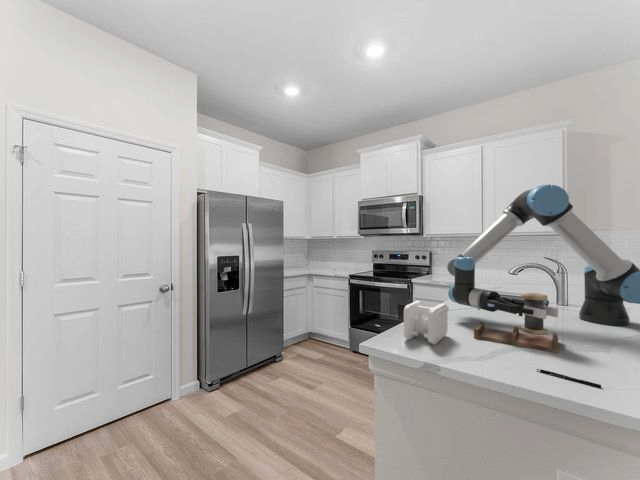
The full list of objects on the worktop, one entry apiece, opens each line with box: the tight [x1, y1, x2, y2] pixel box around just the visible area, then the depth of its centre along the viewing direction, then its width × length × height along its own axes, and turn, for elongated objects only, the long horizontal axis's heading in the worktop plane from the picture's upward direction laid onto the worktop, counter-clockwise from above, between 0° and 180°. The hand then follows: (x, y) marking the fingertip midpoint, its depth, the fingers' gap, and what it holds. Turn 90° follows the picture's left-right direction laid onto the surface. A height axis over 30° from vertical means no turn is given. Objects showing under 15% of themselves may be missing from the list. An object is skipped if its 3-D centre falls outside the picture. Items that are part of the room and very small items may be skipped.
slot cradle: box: [473, 321, 559, 354], centre depth 102 cm, size 23×12×3 cm, turn 52°
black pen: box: [536, 368, 602, 390], centre depth 74 cm, size 12×1×1 cm, turn 42°
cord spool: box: [520, 292, 548, 336], centre depth 99 cm, size 7×7×12 cm
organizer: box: [403, 300, 450, 345], centre depth 104 cm, size 15×11×12 cm
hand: (551, 313), depth 94 cm, fingers closed on cord spool, 5 cm apart
